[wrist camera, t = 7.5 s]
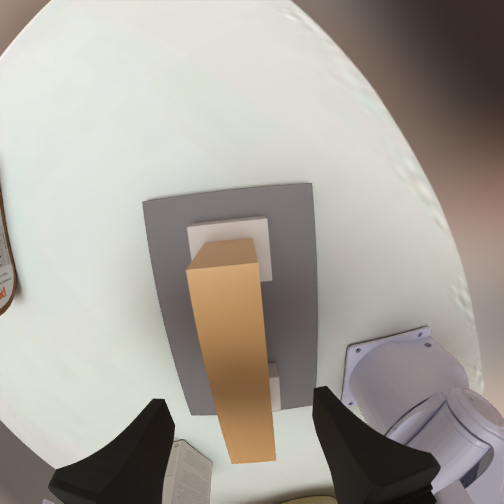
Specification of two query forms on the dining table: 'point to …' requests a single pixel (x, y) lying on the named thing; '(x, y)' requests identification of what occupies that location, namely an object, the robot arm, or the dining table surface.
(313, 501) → the beige sack vase
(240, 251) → the frame
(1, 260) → the tin
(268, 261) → the stand
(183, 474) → the skincare box
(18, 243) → the dining table surface
